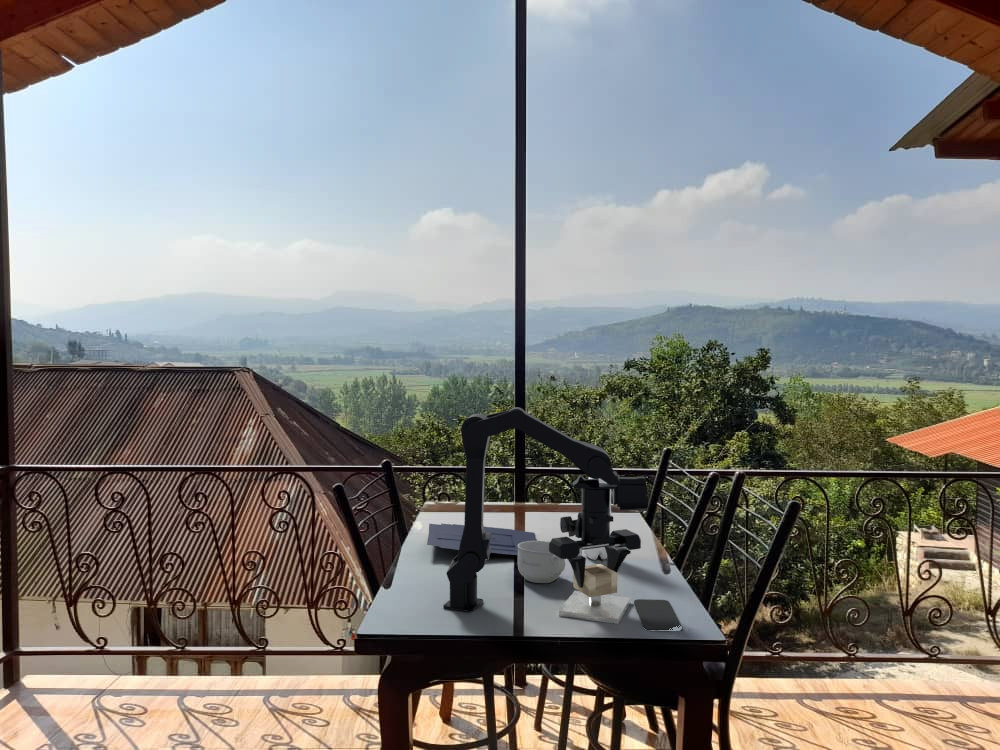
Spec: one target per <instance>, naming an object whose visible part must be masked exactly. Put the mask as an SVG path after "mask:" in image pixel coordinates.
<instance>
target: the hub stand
mask: <svg viewBox="0 0 1000 750" xmlns="http://www.w3.org/2000/svg"><path fill="white" fill-rule="evenodd" d="M630 604H631V598H630V597H624V596H617V595H612V594H607V595H601V596H595V597H588V596H587V595H585V594H583V593H582V592H580V591H579V590H574V591H573V592H572V593H571V595H570V596H569V597H568V599H566V600H565V602H564V603H563V605H562V606H561V607H560V608H559V609H558V616H560V617H566V618H573V619H578V620H579V619H581V620H588V621H593V622H601V623H606V622H607V623H608V624H613V623H614V625H619V623H620V622H621V620H622V618H623V616H624V615H625V613H626V611H627V609H628V608H629V605H630ZM619 621H620V622H619ZM607 623H606V624H607Z"/></svg>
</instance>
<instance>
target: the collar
mask: <svg viewBox="0 0 1000 750" xmlns="http://www.w3.org/2000/svg"><path fill="white" fill-rule="evenodd" d="M572 574H573V575H572V578H573V582H572V584H573V586H572V587H573V588H574V589H576V591H580V592H582V593H583V594H585V595H587V596H588V597H595V596H601V595H612V594H616V593H617V594H618V572H617V573H616V572H614V571H612V570H611V569H609V568H607V566H605V565H603V564H602V563H599V564H598V563H597V564H592V565H585V575H584V584H583V588H580V587H579V586H578V583H577V580H576V578H575V575H574V572H573V573H572Z"/></svg>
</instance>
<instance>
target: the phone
mask: <svg viewBox="0 0 1000 750" xmlns="http://www.w3.org/2000/svg"><path fill="white" fill-rule="evenodd" d="M633 605H634V608H635V610H636V612H637V615H638V617H639V621H640V622H642V623H641V625H642V624H643V625H642V627H644V628H645V629H647V630H669V629H670V628H671V629H672V628H673V627H676V626H677V627H678V626H679V625H680V626H682V624H681V622H680V620H679V618H678V616H677V614H676V613H675V611H674V608H673V606H672V604H671V602H670V601H669V600H667V599H645V598H644V599H643V598H642V599H641V598H640V599H639V598H638V599H635V600H634V601H633ZM680 626H679V627H680ZM679 627H678V628H679ZM644 628H643V629H644ZM645 629H644V630H645ZM671 629H670V630H671ZM647 630H646V631H647ZM672 630H673V629H672Z"/></svg>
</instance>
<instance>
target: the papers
mask: <svg viewBox="0 0 1000 750" xmlns="http://www.w3.org/2000/svg"><path fill="white" fill-rule="evenodd" d="M463 530H464V524H456V523H455V524H454V523H453V524H449V523H441V524H435V523H429V524H428V536H427V542H426V545H427V546H434V547H439V548H440V549H442V548H443V549H448V550H449V549H451V550H458V551H459V547H460V542H461V538H462V534H463ZM484 530H485V533H487V532H491V538H490V547H491V553H490V554H492V553H493V554H500V555H501V554H502V555H512V556H513V555H515V556H518V547H517V546H518V544H519V543H522V542H526V541H538V540H537V537H536V534H535V532H533V531H531V532H530V531H525V530H524V531H523V530H517V529H513V528H503V527H493V526H492V527H491V526H484Z"/></svg>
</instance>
